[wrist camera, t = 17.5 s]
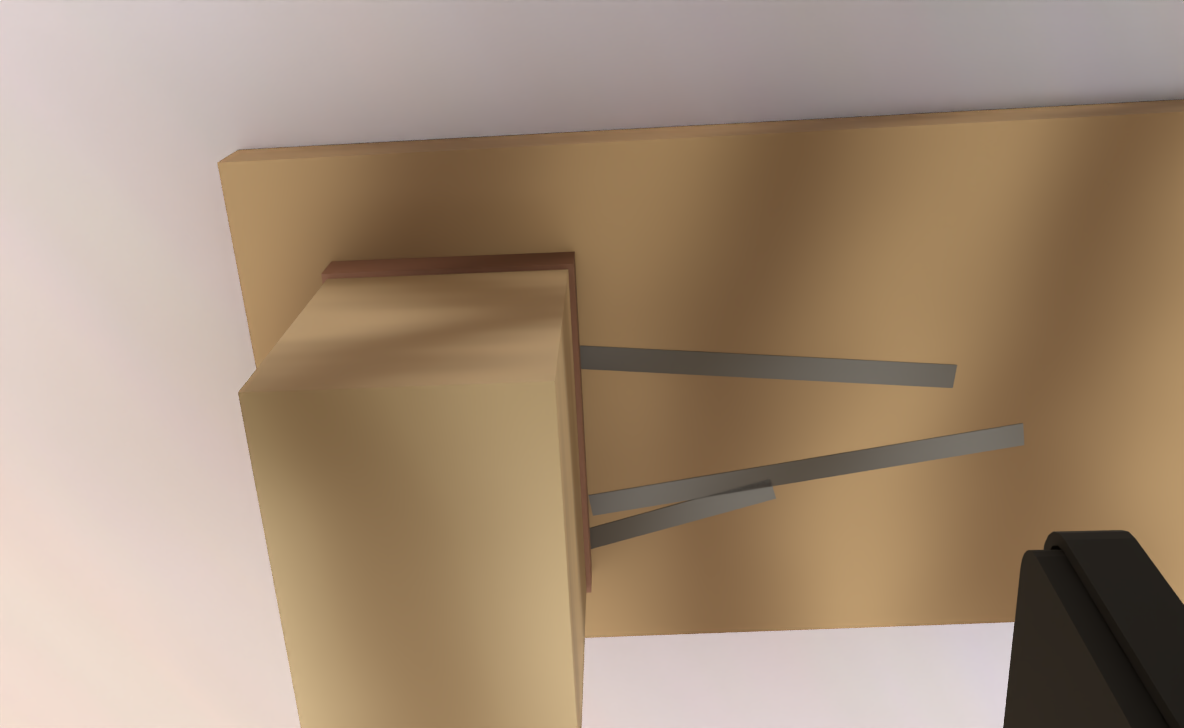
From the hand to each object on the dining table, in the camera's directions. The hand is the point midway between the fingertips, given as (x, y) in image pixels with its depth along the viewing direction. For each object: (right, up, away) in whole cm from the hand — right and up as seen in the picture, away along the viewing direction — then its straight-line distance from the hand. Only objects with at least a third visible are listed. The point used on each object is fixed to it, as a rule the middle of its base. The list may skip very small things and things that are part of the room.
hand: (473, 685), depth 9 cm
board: (+4, +2, +14) cm, 14 cm away
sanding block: (-2, +2, +13) cm, 13 cm away
